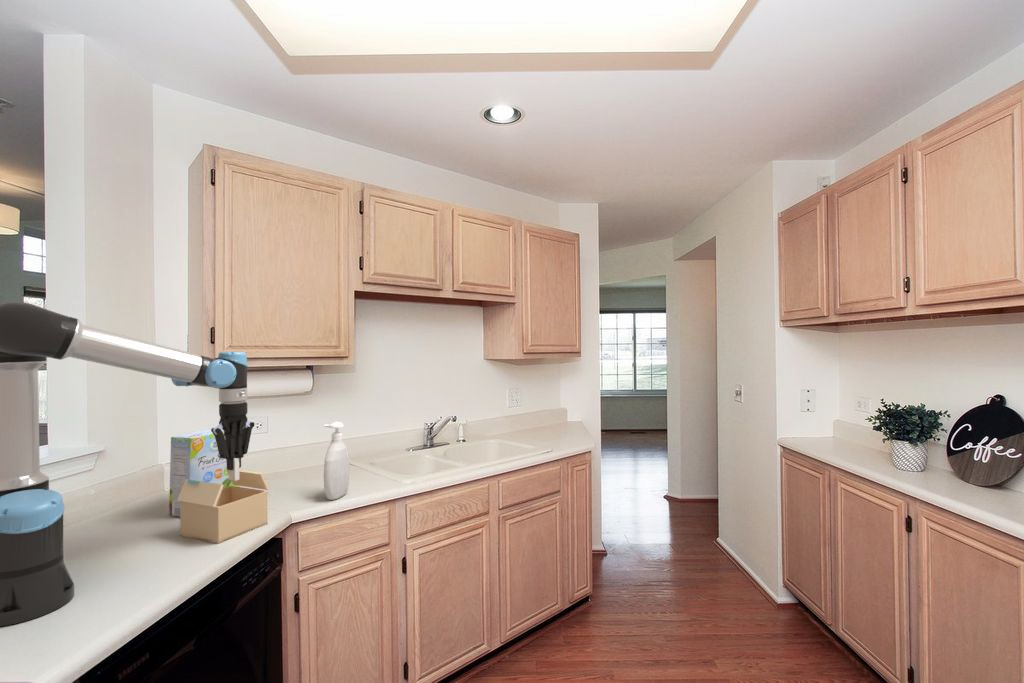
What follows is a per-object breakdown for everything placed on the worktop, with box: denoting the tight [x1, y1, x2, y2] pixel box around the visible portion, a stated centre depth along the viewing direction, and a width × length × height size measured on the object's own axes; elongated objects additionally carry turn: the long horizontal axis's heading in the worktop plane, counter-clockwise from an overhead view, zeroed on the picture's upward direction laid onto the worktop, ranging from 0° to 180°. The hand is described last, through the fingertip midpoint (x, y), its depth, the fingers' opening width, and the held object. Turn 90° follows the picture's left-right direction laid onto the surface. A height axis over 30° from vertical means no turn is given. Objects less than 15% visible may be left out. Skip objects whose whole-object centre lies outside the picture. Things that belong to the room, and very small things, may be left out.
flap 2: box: [226, 469, 270, 491], centre depth 153 cm, size 6×15×1 cm
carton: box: [179, 486, 268, 545], centre depth 146 cm, size 16×16×10 cm
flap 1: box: [177, 479, 224, 507], centre depth 139 cm, size 6×15×1 cm
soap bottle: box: [323, 421, 351, 501], centre depth 177 cm, size 14×8×27 cm, turn 170°
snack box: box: [168, 428, 240, 517], centre depth 167 cm, size 22×9×26 cm, turn 168°
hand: (234, 479), depth 149 cm, fingers closed
